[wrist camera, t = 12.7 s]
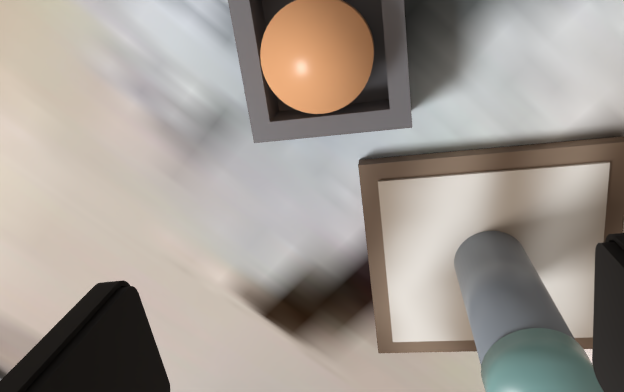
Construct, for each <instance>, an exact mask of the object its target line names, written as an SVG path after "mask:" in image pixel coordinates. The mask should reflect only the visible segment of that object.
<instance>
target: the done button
mask: <svg viewBox="0 0 624 392" xmlns="http://www.w3.org/2000/svg"><path fill="white" fill-rule="evenodd" d="M260 58H261V66H262V70H263V74H264V76H265V79H266V81H267V83H268V85H269V87H270V88H271V90H272V91H273V92H274V93H275V95H276V96H277V97H278V98H279V99H280V100H281V101H283V102H284V103H285V104H287V105H288V106H290V107H292V108H294V109H296V110H299V111H301V112H305V113H311V114H324V113H330V112H333V111H336V110H339V109H341V108H343V107H345V106H346V105H348V104H349V103H351V102H352V101H353V100H354V99H355V98H356V97H357V96H358V95H359V94H360V93H361V91H362V90H363V89H364V87H365V85H366V83H367V82H368V79H369V77H370V74H371V70H372V65H373V60H374V41H373V36H372V33H371V30H370V28H369V25H368V23H367V22H366V20H365V18H364V17H363V16H362V15H361V13H360V12H359V11H358V10H357V9H355V8H354V7H353V6H352V5H350V4H349V3H347V2H345V1H343V0H296V1H293V2H291V3H289V4H288V5H286V6H285V7H283V8H282V9H281V10H280V11H279V12H278V13H277V14H276V15H275V16H274V17H273V18H272V20H271V21H270V23H269V24H268V26H267V28H266V30H265V33H264V35H263V39H262V43H261V50H260Z"/></svg>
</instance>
